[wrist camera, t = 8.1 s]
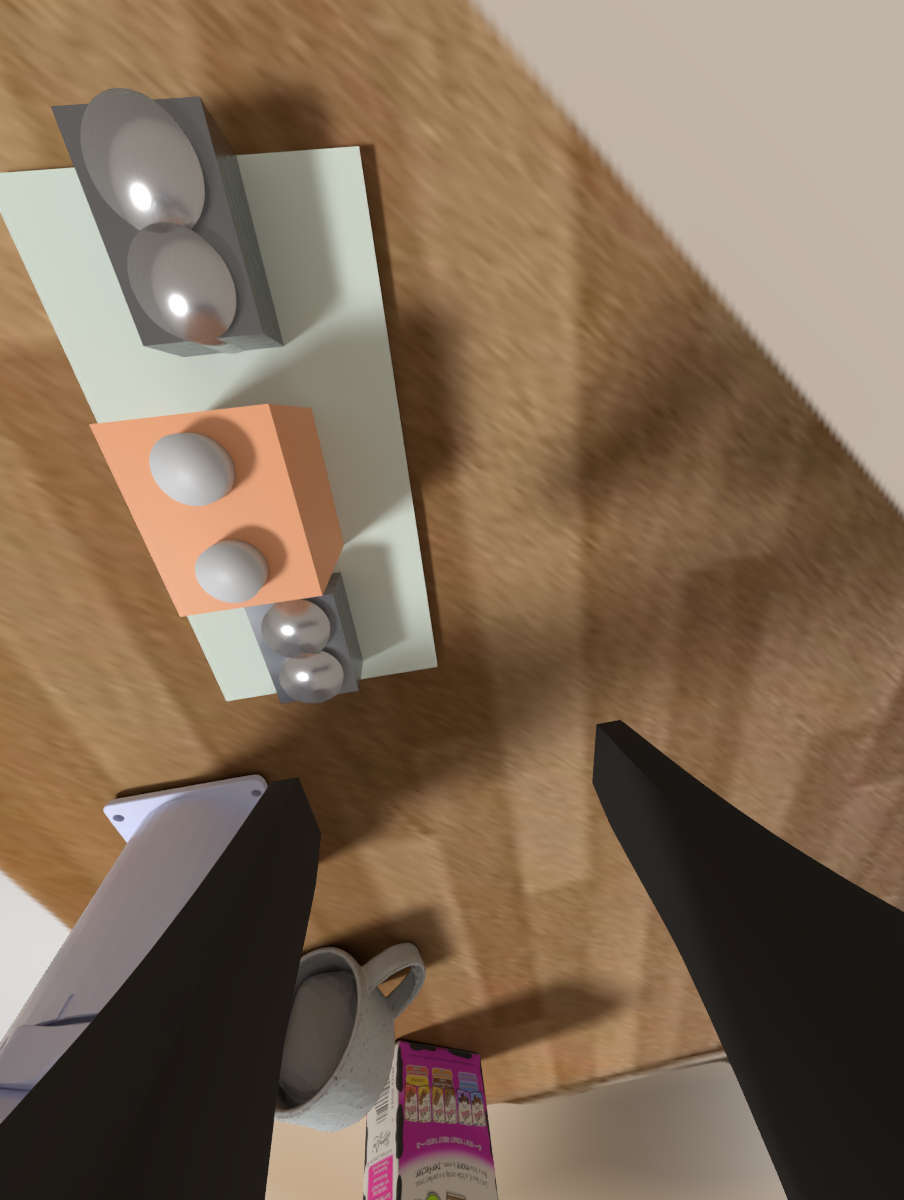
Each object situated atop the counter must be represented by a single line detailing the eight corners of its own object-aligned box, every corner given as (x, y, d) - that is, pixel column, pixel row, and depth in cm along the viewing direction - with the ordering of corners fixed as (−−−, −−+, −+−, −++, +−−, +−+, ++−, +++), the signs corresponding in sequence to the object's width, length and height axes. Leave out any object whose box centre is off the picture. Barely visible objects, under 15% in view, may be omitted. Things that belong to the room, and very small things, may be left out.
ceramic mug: (318, 1006, 32) (298, 1166, 25) (267, 964, 29) (228, 1136, 22) (438, 964, 32) (451, 1112, 25) (401, 916, 29) (405, 1074, 22)
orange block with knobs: (344, 544, 16) (318, 604, 11) (243, 558, 16) (168, 627, 10) (311, 408, 14) (260, 403, 9) (193, 421, 13) (69, 425, 8)
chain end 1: (284, 348, 13) (260, 333, 11) (184, 358, 13) (137, 346, 10) (235, 153, 11) (192, 83, 9) (115, 162, 11) (38, 92, 8)
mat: (436, 662, 19) (437, 666, 19) (229, 695, 19) (226, 701, 18) (360, 154, 11) (359, 146, 11) (-4, 182, 11) (-18, 174, 10)
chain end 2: (363, 661, 18) (358, 696, 16) (294, 672, 18) (279, 709, 16) (340, 570, 16) (331, 595, 14) (262, 582, 16) (240, 609, 14)
